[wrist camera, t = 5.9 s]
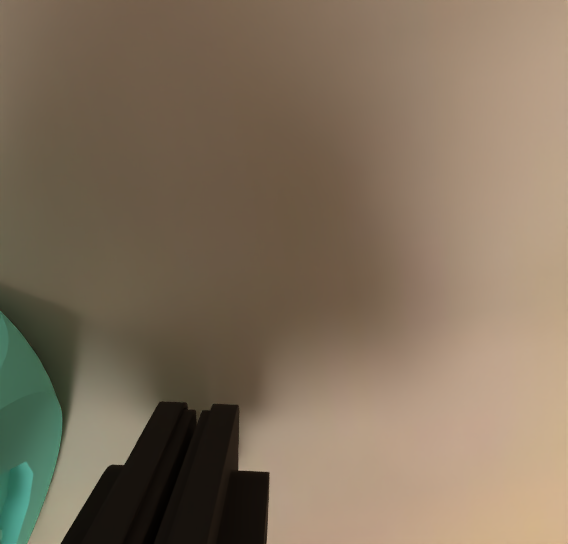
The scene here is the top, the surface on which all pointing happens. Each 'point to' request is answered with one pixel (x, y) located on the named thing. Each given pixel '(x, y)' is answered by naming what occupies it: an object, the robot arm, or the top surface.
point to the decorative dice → (24, 435)
